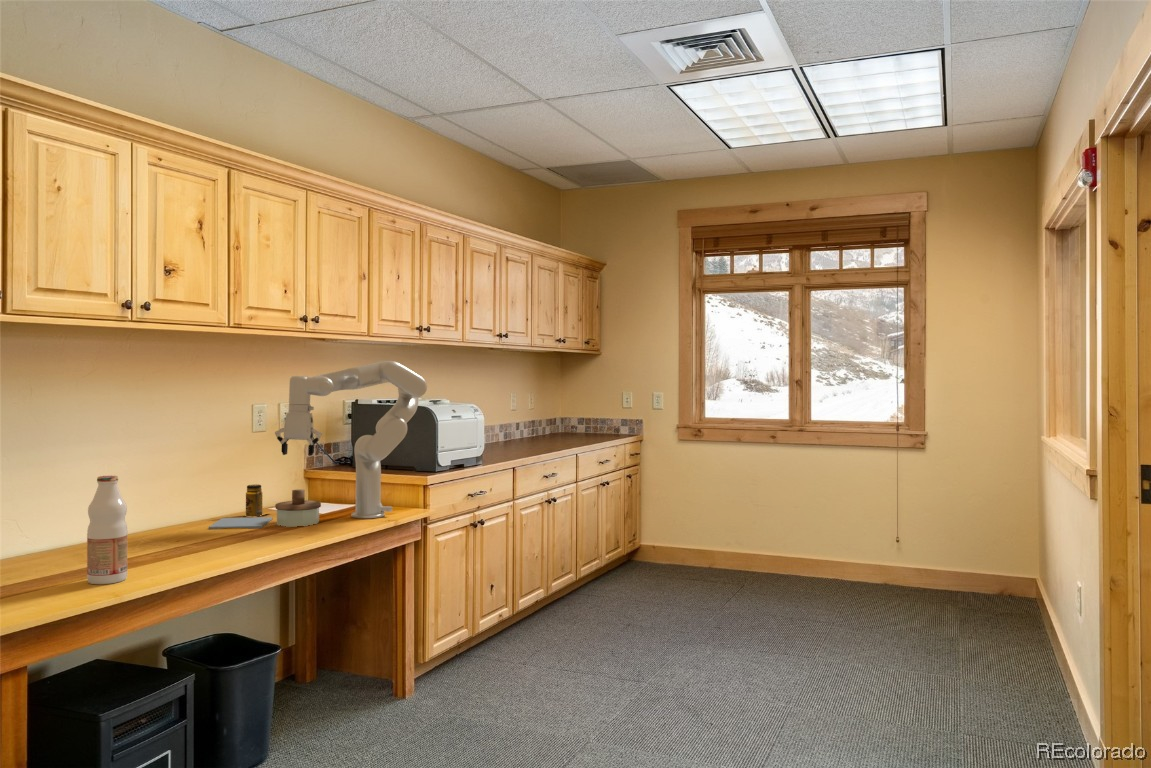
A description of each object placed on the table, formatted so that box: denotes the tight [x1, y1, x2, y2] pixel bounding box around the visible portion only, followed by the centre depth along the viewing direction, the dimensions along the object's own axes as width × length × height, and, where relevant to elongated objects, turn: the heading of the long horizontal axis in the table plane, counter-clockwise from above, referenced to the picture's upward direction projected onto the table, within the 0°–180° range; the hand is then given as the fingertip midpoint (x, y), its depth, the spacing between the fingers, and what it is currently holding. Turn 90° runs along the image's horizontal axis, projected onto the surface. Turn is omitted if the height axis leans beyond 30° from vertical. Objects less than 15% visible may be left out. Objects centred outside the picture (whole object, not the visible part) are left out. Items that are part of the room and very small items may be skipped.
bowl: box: [276, 507, 320, 528], centre depth 308 cm, size 14×14×6 cm
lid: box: [274, 489, 322, 511], centre depth 308 cm, size 16×16×6 cm
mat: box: [208, 516, 273, 530], centre depth 305 cm, size 18×18×1 cm
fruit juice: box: [86, 475, 128, 585], centre depth 223 cm, size 9×9×28 cm
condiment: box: [245, 484, 263, 516], centre depth 323 cm, size 7×8×12 cm
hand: (297, 455), depth 310 cm, fingers open, 9 cm apart
